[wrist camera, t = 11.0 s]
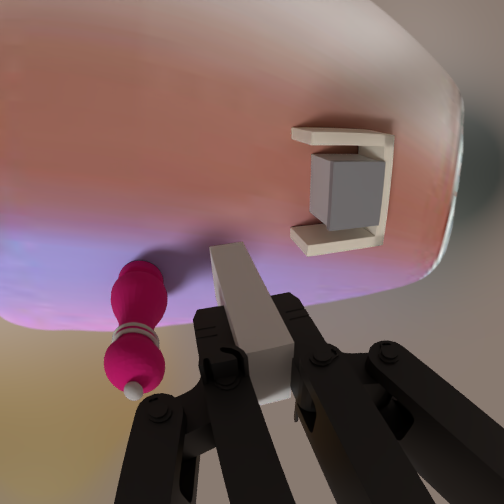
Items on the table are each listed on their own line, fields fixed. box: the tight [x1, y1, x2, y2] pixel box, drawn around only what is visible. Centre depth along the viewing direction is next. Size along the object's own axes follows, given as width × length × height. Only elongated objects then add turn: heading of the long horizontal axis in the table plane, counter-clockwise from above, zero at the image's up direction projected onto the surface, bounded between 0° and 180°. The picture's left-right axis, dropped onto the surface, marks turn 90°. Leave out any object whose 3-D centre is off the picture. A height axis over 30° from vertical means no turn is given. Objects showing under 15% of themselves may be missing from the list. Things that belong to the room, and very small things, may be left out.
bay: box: [290, 127, 395, 257], centre depth 39 cm, size 15×12×6 cm
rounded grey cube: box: [310, 154, 386, 231], centre depth 39 cm, size 8×7×7 cm
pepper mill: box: [104, 261, 167, 401], centre depth 32 cm, size 7×7×20 cm
